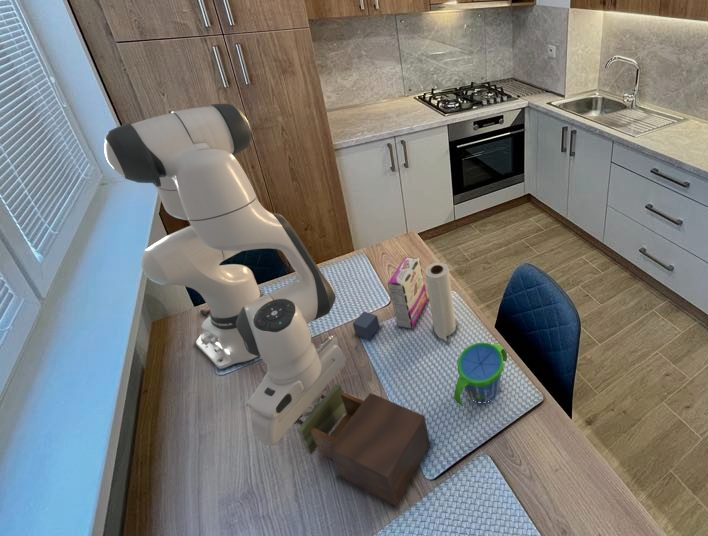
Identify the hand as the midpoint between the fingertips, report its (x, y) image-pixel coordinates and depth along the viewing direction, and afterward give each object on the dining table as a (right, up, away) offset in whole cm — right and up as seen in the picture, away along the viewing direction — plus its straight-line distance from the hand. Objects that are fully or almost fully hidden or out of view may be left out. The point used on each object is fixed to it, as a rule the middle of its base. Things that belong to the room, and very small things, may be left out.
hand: (312, 412), depth 88 cm
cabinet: (+17, -7, -5) cm, 19 cm away
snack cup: (+37, 0, +9) cm, 38 cm away
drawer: (+6, -4, -1) cm, 7 cm away
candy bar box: (+14, +10, +31) cm, 35 cm away
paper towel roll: (+25, +7, +25) cm, 36 cm away
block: (+3, +7, +25) cm, 26 cm away
